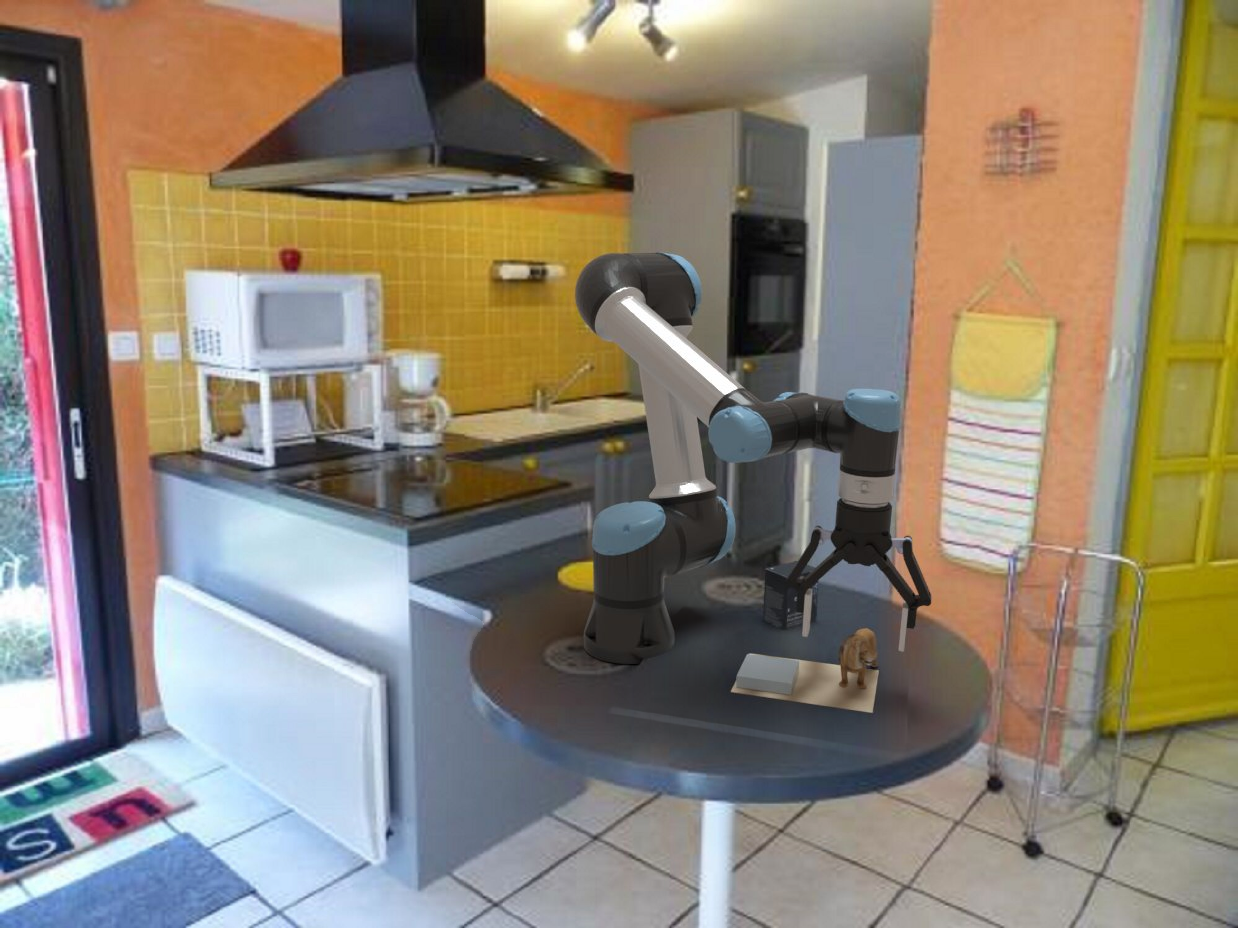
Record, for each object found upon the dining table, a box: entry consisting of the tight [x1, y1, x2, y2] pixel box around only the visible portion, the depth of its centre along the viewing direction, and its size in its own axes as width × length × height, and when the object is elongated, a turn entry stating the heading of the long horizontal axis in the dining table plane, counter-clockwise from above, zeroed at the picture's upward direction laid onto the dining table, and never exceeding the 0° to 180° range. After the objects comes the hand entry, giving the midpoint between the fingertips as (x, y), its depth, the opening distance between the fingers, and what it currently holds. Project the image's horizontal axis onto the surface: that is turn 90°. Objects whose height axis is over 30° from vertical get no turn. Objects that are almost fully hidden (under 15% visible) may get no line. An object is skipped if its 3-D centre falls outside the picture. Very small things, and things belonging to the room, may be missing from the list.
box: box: [762, 560, 819, 631], centre depth 158 cm, size 8×6×11 cm
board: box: [730, 653, 880, 714], centre depth 136 cm, size 20×14×1 cm
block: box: [735, 653, 799, 695], centre depth 136 cm, size 8×2×8 cm
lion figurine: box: [838, 627, 878, 689], centre depth 135 cm, size 15×5×9 cm, turn 161°
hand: (852, 640), depth 132 cm, fingers open, 13 cm apart
